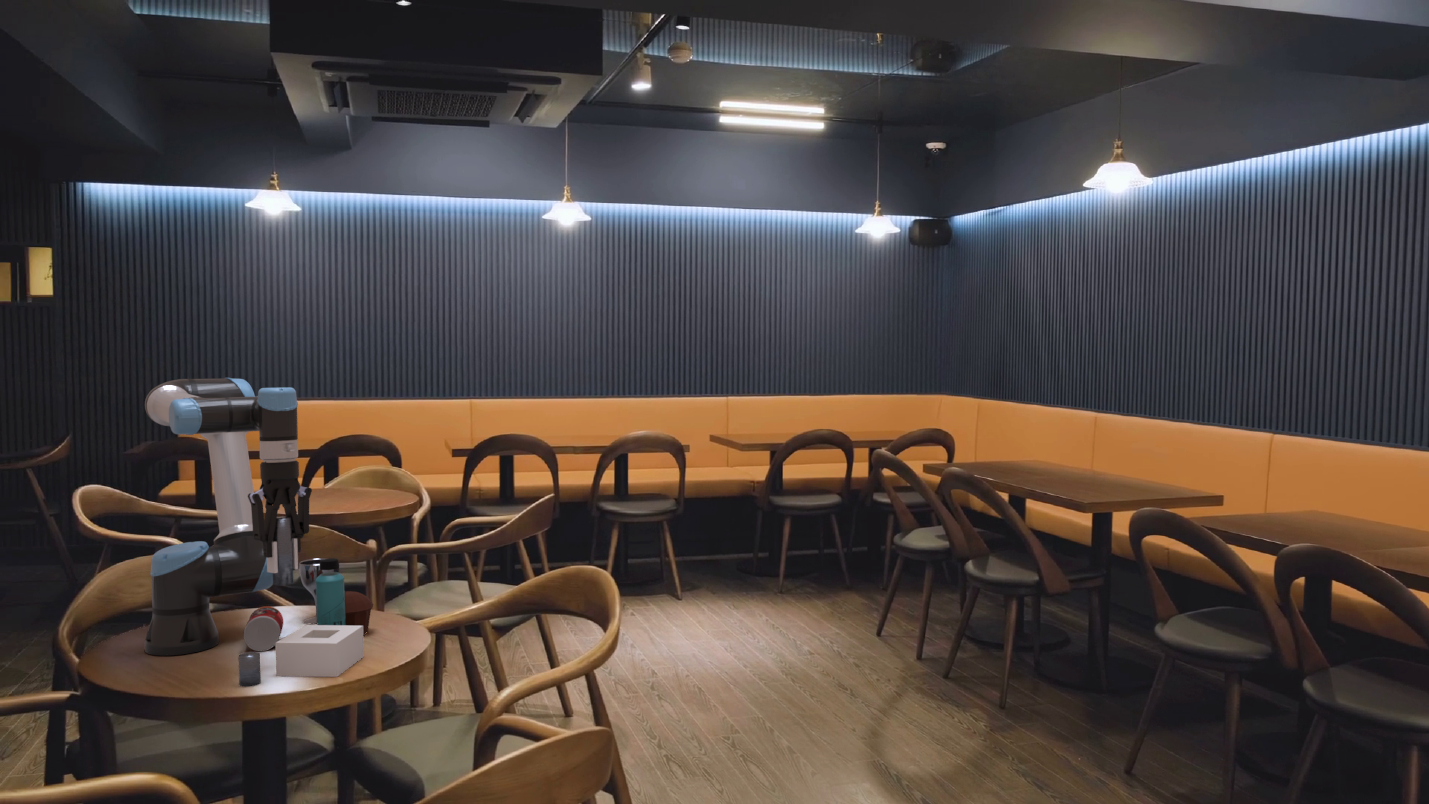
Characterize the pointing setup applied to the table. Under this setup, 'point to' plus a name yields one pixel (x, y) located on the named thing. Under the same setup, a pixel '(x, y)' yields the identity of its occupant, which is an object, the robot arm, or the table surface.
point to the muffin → (357, 609)
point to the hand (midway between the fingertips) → (282, 570)
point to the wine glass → (311, 579)
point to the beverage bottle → (330, 595)
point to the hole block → (319, 650)
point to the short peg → (249, 669)
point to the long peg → (283, 551)
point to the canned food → (263, 628)
